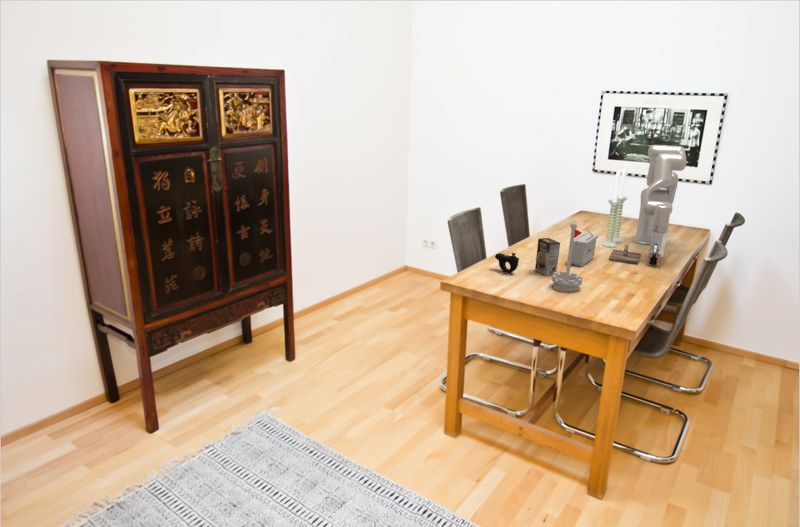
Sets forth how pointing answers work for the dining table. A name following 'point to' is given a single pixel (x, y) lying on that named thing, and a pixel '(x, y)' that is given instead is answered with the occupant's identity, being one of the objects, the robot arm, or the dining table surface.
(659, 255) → the bead
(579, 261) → the stereo radio cassette player
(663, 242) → the beer glass
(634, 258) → the brown peg stand
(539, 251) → the coffee box
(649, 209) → the robot arm
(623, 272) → the dining table surface
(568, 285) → the flag stand
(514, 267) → the controller
